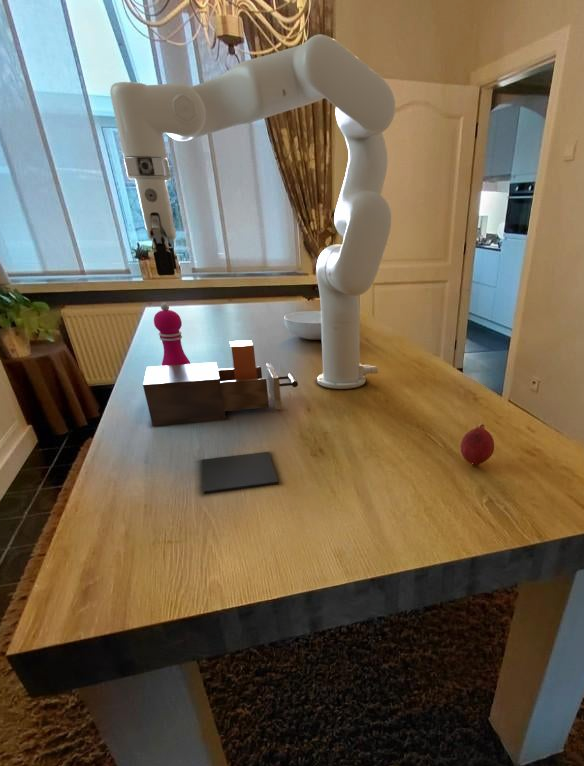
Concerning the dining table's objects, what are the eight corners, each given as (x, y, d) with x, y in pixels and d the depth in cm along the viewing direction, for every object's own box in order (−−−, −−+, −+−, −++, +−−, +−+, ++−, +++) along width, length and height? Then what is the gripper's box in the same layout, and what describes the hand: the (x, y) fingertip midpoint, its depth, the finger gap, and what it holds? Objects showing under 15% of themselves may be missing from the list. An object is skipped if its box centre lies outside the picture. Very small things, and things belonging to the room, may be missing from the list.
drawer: (292, 390, 120) (290, 361, 116) (301, 406, 110) (299, 376, 107) (215, 397, 115) (211, 367, 111) (218, 414, 106) (213, 383, 102)
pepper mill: (186, 394, 119) (170, 306, 108) (159, 392, 120) (140, 304, 109) (201, 385, 125) (186, 300, 114) (175, 383, 126) (158, 299, 115)
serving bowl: (344, 345, 161) (344, 323, 158) (280, 344, 161) (279, 322, 158) (347, 331, 179) (347, 310, 175) (290, 330, 179) (288, 310, 175)
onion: (483, 476, 86) (490, 433, 81) (453, 467, 88) (458, 425, 84) (495, 463, 90) (502, 422, 86) (465, 455, 92) (471, 415, 88)
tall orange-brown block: (257, 393, 114) (251, 340, 108) (259, 400, 110) (253, 345, 104) (236, 395, 113) (229, 341, 106) (238, 402, 109) (231, 346, 103)
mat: (268, 453, 92) (268, 451, 92) (278, 483, 82) (278, 481, 82) (202, 461, 89) (201, 459, 89) (203, 493, 79) (203, 491, 79)
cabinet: (222, 399, 116) (216, 362, 112) (225, 419, 106) (219, 378, 101) (155, 405, 113) (146, 366, 108) (152, 426, 102) (142, 384, 98)
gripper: (167, 168, 86) (186, 277, 95) (171, 172, 100) (187, 266, 109) (120, 167, 84) (144, 278, 93) (131, 172, 98) (151, 267, 107)
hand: (167, 271), depth 101 cm, fingers open, 9 cm apart
